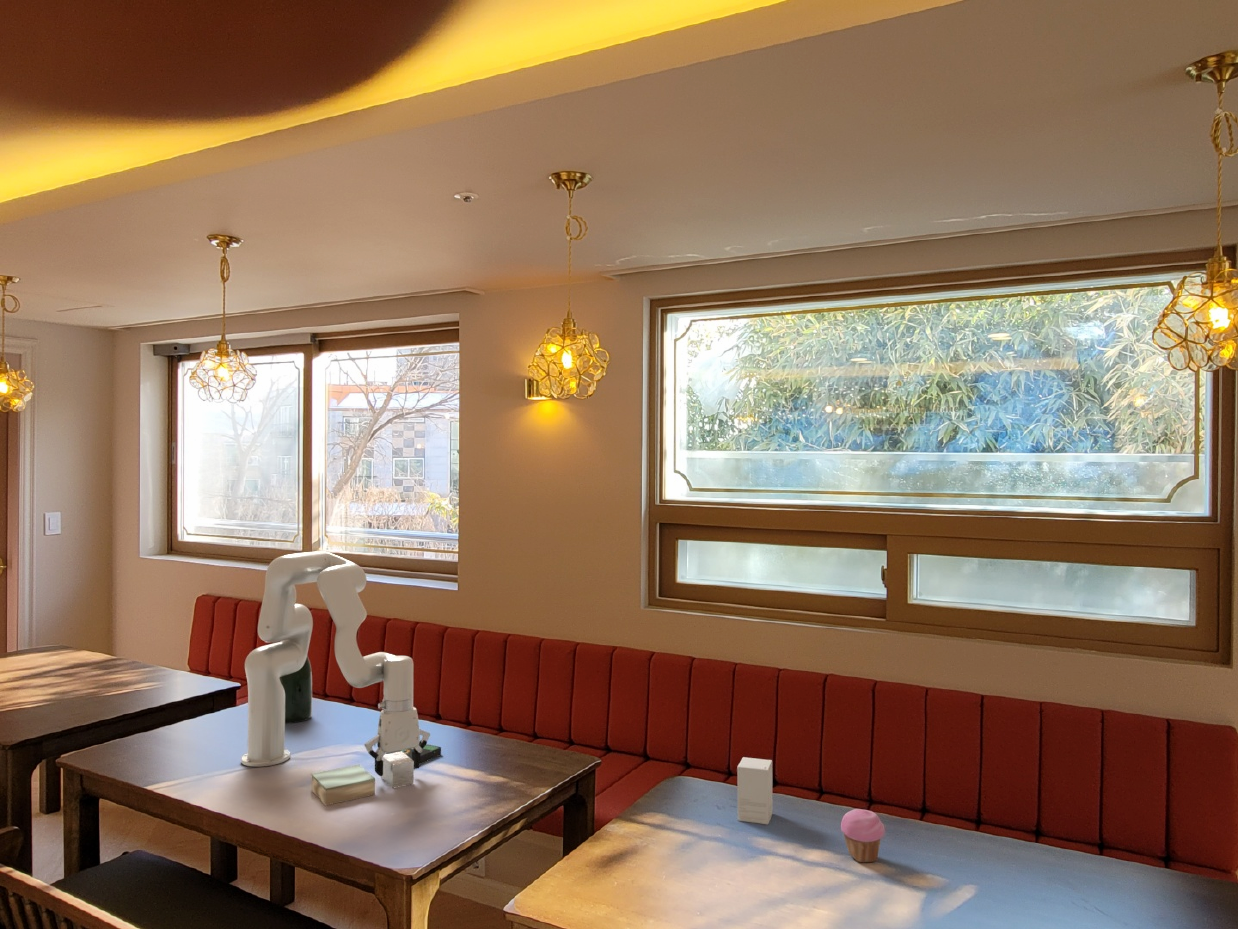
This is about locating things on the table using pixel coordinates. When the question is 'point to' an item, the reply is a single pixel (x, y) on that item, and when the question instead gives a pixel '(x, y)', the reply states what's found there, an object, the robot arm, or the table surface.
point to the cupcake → (862, 834)
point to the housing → (398, 769)
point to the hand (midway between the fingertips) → (397, 770)
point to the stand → (343, 784)
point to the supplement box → (755, 790)
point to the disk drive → (423, 752)
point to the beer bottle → (298, 693)
